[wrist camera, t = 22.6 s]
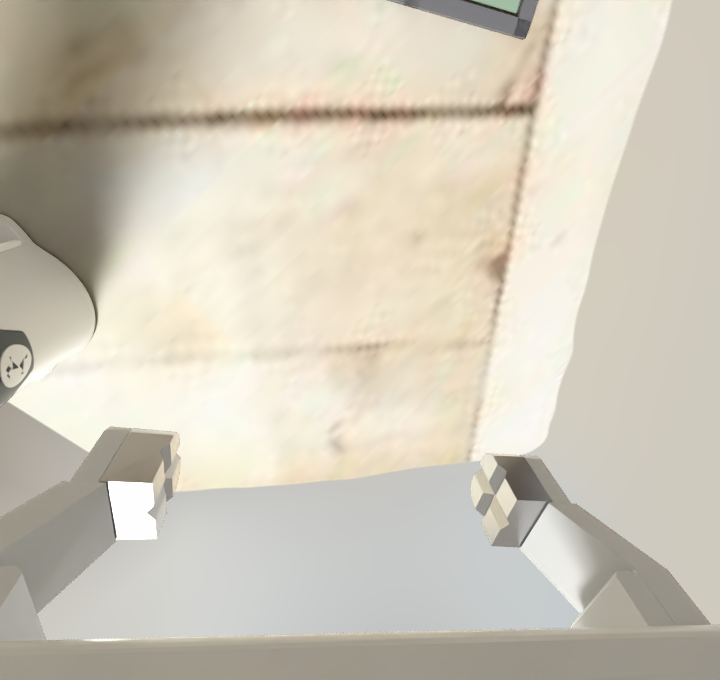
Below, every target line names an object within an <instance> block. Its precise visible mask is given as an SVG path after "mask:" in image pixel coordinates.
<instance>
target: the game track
mask: <svg viewBox="0 0 720 680" xmlns="http://www.w3.org/2000/svg"><path fill="white" fill-rule="evenodd" d="M388 1H391V2H395V3H398V4H402V5H405V6H409V7H412V8H416V9H419V10H422V11H426V12H429V13H433V14H436V15H440V16H443V17H447V18H450V19H453V20H457V21H460V22H464V23H467V24H471V25H474V26H478V27H481V28H484V29H488V30H491V31H495V32H498V33H502V34H505V35H509V36H512V37H515V38H519V39H522V40H523V39H525V38H526V36H527V33H528V30H529V26H530V23H531V20H532V17H533V14H534V11H535V8H536V4H537V1H538V0H521V3H520V0H469V1H473V2H476V3H479V4H483V5H486V6H489V7H492V8H496V9H499V10H502V11H506V12H509V13H512V14H516V13H517V10H518V13H517V16H516V17H515V16H512V15H509V14H505V13H502V12H499V11H495V10H492V9H489V8H485V7H482V6H479V5H475V4H472V3H469V2H465V1H462V0H388ZM519 3H520V6H519ZM518 6H519V9H518Z"/></svg>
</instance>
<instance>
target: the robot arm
mask: <svg viewBox="0 0 720 680" xmlns="http://www.w3.org/2000/svg"><path fill="white" fill-rule="evenodd" d="M94 329H95V311H94V307H93V303H92V300H91V298H90V296H89V294H88V292H87V290H86V289H85V287H84V285H83V284H82V283H81V281H80V280H79V279H78V278H77V276H76V275H75V274H74V273H73V272H72V271H71V270H70V269H69V268H68V267H67V266H65V265H64V264H63V263H62V262H61V261H59V260H58V259H57V258H55V257H54V256H52V255H51V254H49V253H48V252H46V251H44V250H43V249H41V248H40V247H39V246H37V245H36V244H35V243H34V242H32V240H31V239H30V238H29V237H28V236H27V235H26V233H25V232H24V231H23V230H22V229H21V228H20V227H19V226H18V225H17V224H16V223H15V222H14V221H13V220H12V219H11V218H9V217H7V216H5V215H2V214H0V407H1V406H2V405H3V404H5V403H6V402H7V401H8V400H9V399H10V398H11V397H12V396H13V395H14V394H15V393H16V392H17V391H19V390H20V389H22V388H23V387H25V386H26V385H27V384H29V383H30V382H32V381H33V380H40V379H42V378H44V377H45V376H47V375H48V374H49V373H50V372H51V371H52V370H53V369H54V367H55V366H56V364H58V363H59V362H61V361H63V360H65V359H66V358H68V357H70V356H72V355H74V354H76V353H78V352H79V351H80V350H82V349H83V348H84V347H85V346H86V345H87V344H88V342H89V341H90V339H91V337H92V335H93V332H94ZM179 445H180V439H179V433H177V432H171V431H160V430H149V429H138V428H133V429H132V428H122V427H112V426H111V427H109V428H108V429H106V430H105V431H104V432H103V434H102V435H101V437H100V438H99V440H98V441H97V443H96V444H95V445H94V447H93V448H92V450H91V451H90V453H89V454H88V456H87V457H86V459H85V460H84V462H83V463H82V465H81V466H80V467H79V469H78V470H77V472H76V473H75V475H74V476H73V478H72V479H71V481H61V482H60V483H58V484H56V485H55V486H53V487H51V488H50V489H48V490H46V491H44V492H43V493H41V494H39V495H38V496H36V497H34V498H32V499H31V500H29V501H27V502H25V503H24V504H22V505H20V506H18V507H17V508H15V509H13V510H12V511H10V512H9V513H6V514H5V515H3V516H1V517H0V680H720V624H718V625H711V624H710V623H709V621H708V620H707V619H706V617H705V616H704V615H703V614H702V613H701V611H700V610H699V609H698V607H697V606H696V605H695V604H694V602H693V601H692V600H691V598H690V597H689V596H688V595H687V594H686V592H685V591H684V590H683V588H682V587H681V586H680V585H679V583H678V582H677V581H676V580H675V578H674V577H673V576H672V574H670V572H669V571H668V570H667V569H666V568H664V567H663V566H662V565H660V564H659V563H657V562H656V561H655V560H653V559H652V558H650V557H649V556H648V555H646V554H645V553H643V552H642V551H641V550H639V549H638V548H636V547H635V546H634V545H633V544H631V543H630V542H628V541H627V540H626V539H624V538H623V537H621V536H620V535H619V534H617V533H616V532H615V531H613V530H612V529H610V528H609V527H608V526H606V525H605V524H603V523H602V522H601V521H599V520H598V519H597V518H595V517H594V516H592V515H591V514H590V513H588V512H587V511H586V510H584V509H583V508H581V507H580V506H579V505H577V504H572V503H571V502H570V501H569V500H568V498H567V496H566V495H565V493H564V492H563V491H562V489H561V488H560V486H559V485H558V483H557V482H556V480H555V479H554V477H553V476H552V474H551V473H550V472H549V470H548V469H547V467H546V466H545V464H544V463H543V461H542V460H541V459H540V458H539V457H537V456H529V455H528V456H527V455H509V454H492V453H487V454H486V455H484V456H483V458H482V460H481V462H480V464H481V467H482V469H481V470H480V471H479V472H477V473H476V474H475V475H474V477H473V479H472V482H471V497H472V501H473V504H474V506H475V509H477V511H479V512H480V513H481V514H482V515H483V520H482V525H483V528H484V530H485V533H486V535H487V537H488V540H489V542H490V544H491V546H504V547H521V548H520V550H521V551H522V552H523V553H524V554H525V555H526V556H527V557H528V558H529V559H530V560H531V561H532V562H533V564H535V566H536V567H537V568H538V569H539V570H540V571H541V572H542V573H543V574H544V575H545V576H546V577H547V578H548V580H549V581H550V582H551V583H552V584H553V585H554V586H555V587H556V588H557V589H558V590H559V591H560V592H561V593H562V594H563V596H564V597H565V598H566V599H567V600H568V601H569V602H570V603H571V604H572V605H573V606H574V607H575V608H576V610H577V611H578V612H579V613H580V615H579V616H578V617H577V619H576V620H575V621H574V622H573V624H572V625H571V627H570V628H547V629H508V630H507V629H504V630H462V631H461V630H460V631H417V632H416V631H414V632H372V633H336V634H335V633H334V634H333V633H332V634H290V635H247V636H207V637H206V636H203V637H161V638H119V639H76V640H46V638H45V635H44V632H43V629H42V627H41V624H40V622H39V618H38V616H37V613H38V612H39V611H41V609H43V608H44V607H45V606H46V605H47V604H48V603H49V602H50V601H51V600H52V599H53V598H54V597H56V596H57V595H58V594H59V593H60V592H61V591H62V590H63V589H65V588H66V586H68V585H69V584H70V583H71V582H72V581H73V580H74V579H75V578H77V577H78V575H80V574H81V573H82V572H83V571H84V570H85V569H86V568H87V567H89V566H90V565H91V564H92V563H93V562H94V561H95V560H96V559H97V558H98V557H99V556H101V554H103V553H104V552H105V551H106V550H107V549H108V548H109V547H110V546H111V545H112V544H114V543H115V542H116V541H115V539H157V537H158V535H159V532H160V529H161V527H162V524H163V521H164V519H165V516H166V514H167V507H166V502H167V501H168V500H169V499H170V498H172V497H173V495H174V493H175V490H176V487H177V483H178V479H179V474H180V457H179V455H178V454H177V453H176V452H177V450H178V447H179Z"/></svg>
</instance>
